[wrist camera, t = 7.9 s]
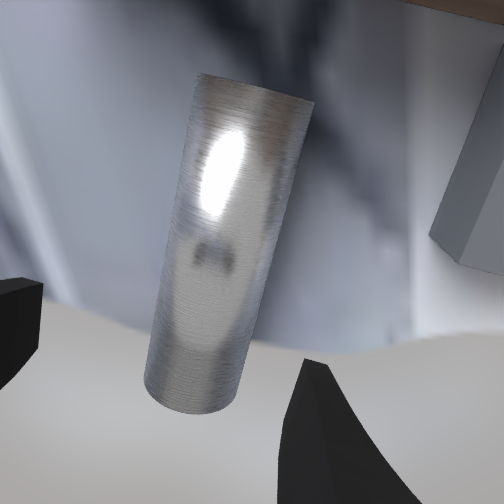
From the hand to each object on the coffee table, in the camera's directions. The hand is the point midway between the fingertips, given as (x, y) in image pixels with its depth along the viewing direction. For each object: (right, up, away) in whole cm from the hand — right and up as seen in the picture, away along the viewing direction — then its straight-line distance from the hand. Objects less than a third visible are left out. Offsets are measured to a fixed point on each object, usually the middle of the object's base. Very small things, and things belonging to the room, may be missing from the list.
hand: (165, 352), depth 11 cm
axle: (+1, +3, +7) cm, 8 cm away
